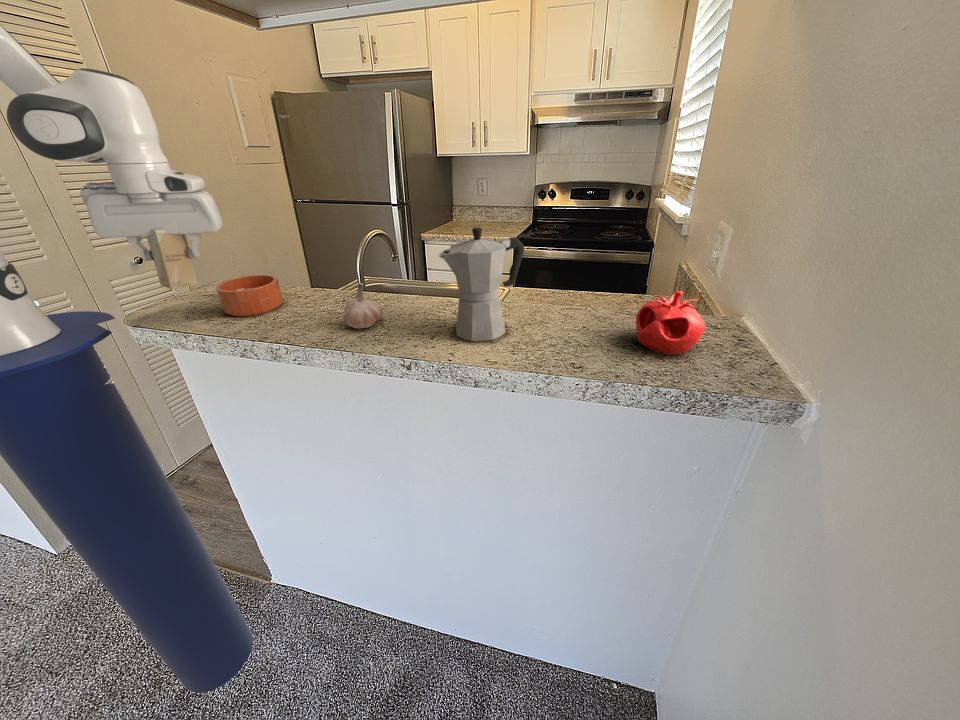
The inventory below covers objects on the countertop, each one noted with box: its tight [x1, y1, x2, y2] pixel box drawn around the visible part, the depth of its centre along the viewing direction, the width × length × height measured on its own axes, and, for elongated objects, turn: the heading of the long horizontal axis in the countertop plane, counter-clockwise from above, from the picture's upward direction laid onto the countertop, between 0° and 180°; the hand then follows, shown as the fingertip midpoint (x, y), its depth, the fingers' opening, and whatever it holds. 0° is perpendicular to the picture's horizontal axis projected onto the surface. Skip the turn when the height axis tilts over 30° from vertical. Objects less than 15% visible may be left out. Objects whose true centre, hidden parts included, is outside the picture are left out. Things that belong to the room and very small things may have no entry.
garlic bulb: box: [343, 282, 384, 330], centre depth 75 cm, size 8×7×8 cm
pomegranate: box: [635, 290, 706, 355], centre depth 63 cm, size 10×10×9 cm
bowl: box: [215, 274, 284, 317], centre depth 85 cm, size 11×11×6 cm
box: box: [146, 230, 199, 290], centre depth 78 cm, size 5×4×11 cm
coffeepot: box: [438, 226, 525, 343], centre depth 68 cm, size 15×9×18 cm, turn 117°
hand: (173, 258), depth 79 cm, fingers closed on box, 6 cm apart
